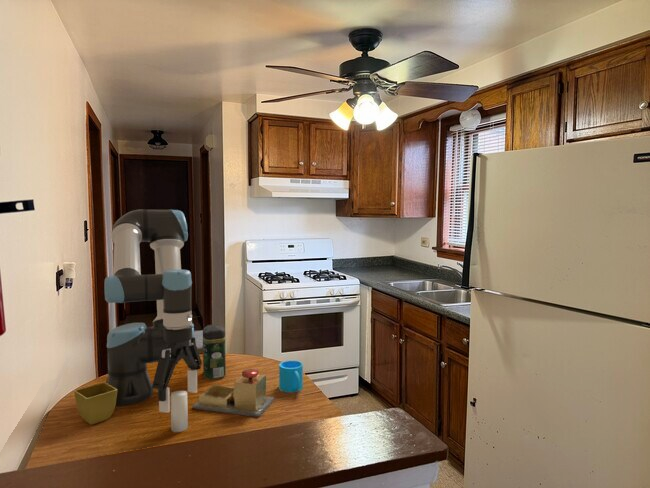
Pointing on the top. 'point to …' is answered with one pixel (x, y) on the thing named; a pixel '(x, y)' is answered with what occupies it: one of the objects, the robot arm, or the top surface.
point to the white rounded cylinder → (179, 411)
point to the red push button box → (238, 396)
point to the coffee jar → (214, 352)
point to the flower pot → (96, 402)
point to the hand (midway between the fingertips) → (179, 401)
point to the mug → (290, 376)
